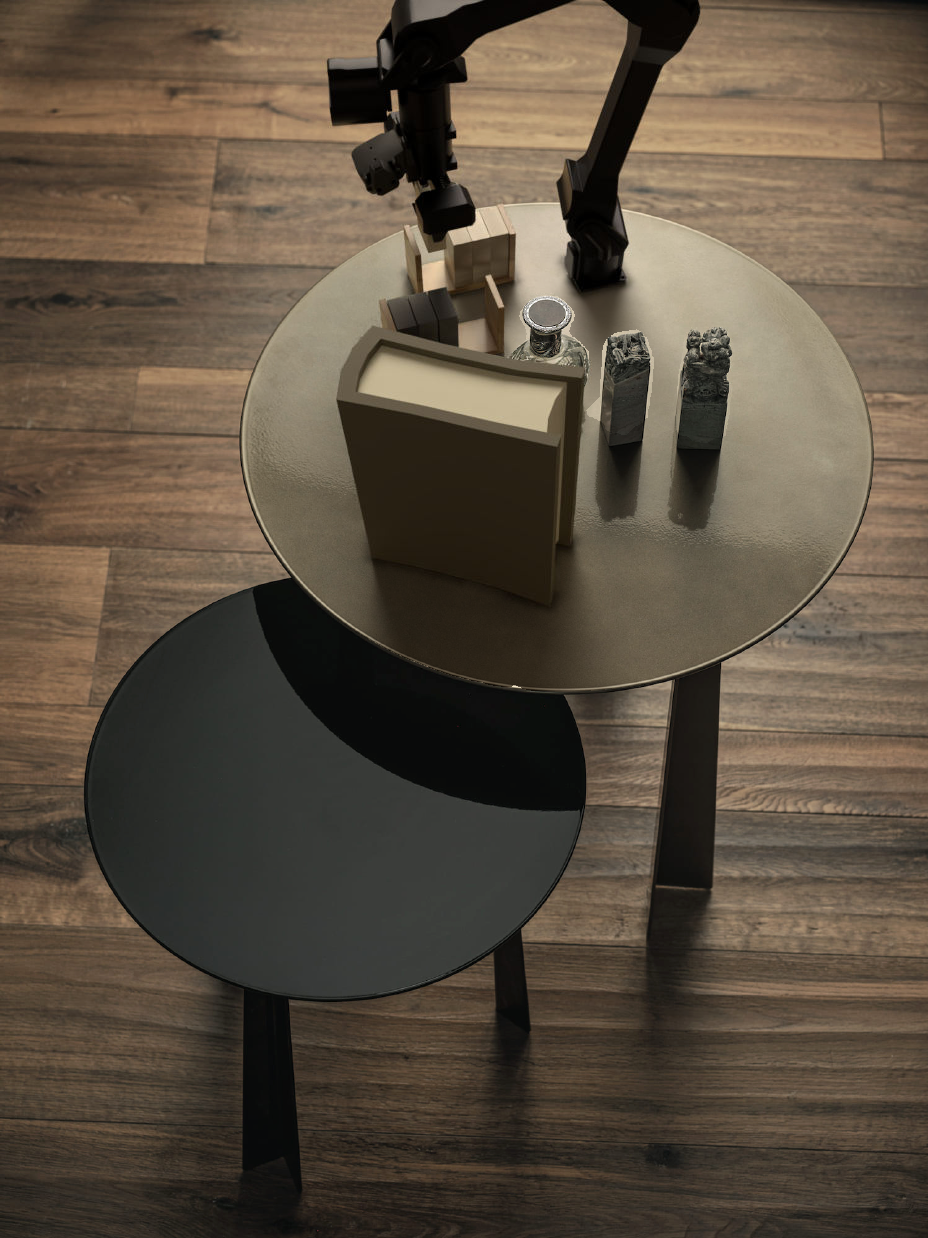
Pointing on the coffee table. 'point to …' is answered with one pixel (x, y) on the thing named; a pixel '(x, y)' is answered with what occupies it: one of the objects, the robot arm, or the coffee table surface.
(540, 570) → the book
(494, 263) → the brown rack
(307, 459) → the coffee table surface
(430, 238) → the cream book
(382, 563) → the coffee table surface
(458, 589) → the coffee table surface
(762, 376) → the coffee table surface
